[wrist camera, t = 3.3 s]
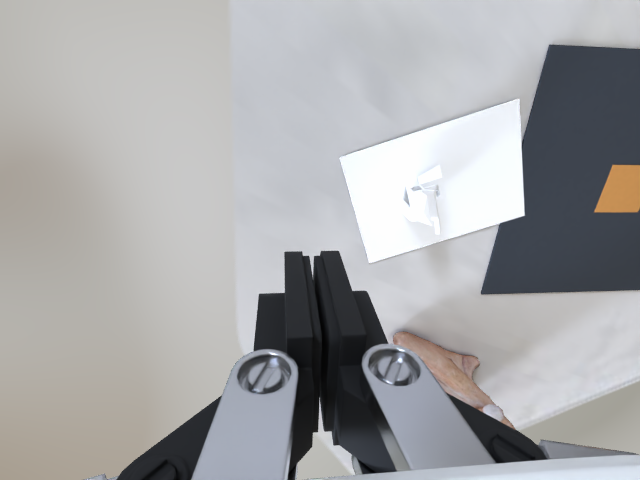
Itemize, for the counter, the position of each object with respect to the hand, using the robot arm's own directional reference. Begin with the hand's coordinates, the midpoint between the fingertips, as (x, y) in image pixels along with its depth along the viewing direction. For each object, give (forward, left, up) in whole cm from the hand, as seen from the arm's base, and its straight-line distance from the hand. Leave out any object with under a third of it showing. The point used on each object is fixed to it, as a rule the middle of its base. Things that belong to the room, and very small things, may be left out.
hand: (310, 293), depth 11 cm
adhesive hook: (0, +8, -10) cm, 13 cm away
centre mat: (0, +20, -10) cm, 22 cm away
